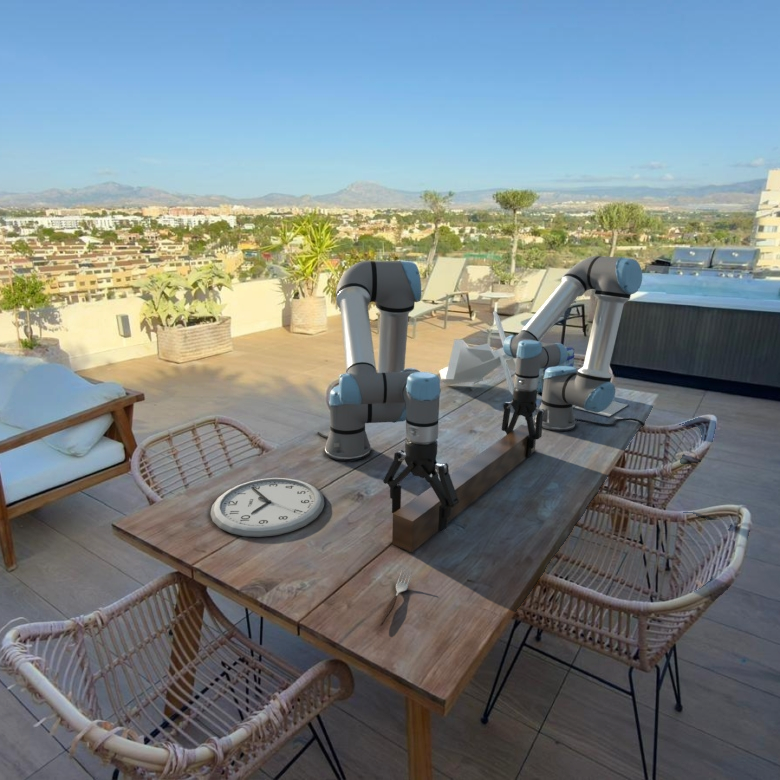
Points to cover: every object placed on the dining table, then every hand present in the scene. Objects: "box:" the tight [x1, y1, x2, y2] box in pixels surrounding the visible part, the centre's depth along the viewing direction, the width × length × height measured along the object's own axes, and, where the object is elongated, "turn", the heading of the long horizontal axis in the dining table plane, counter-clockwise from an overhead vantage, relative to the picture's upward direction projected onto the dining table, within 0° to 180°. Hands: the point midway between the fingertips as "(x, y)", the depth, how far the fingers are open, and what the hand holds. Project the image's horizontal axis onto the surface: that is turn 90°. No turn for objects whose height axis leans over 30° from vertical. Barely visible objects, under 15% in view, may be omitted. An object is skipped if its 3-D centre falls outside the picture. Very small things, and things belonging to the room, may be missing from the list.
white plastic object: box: [438, 310, 516, 396], centre depth 245 cm, size 37×45×31 cm
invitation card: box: [573, 400, 629, 418], centre depth 226 cm, size 21×1×15 cm
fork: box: [379, 570, 413, 627], centre depth 106 cm, size 3×16×2 cm, turn 160°
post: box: [391, 424, 537, 553], centre depth 152 cm, size 75×6×8 cm, turn 143°
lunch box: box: [536, 346, 575, 394], centre depth 245 cm, size 26×11×21 cm, turn 134°
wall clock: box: [210, 477, 325, 538], centre depth 142 cm, size 30×2×30 cm
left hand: (418, 519), depth 128 cm, fingers open, 13 cm apart
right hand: (519, 453), depth 176 cm, fingers closed on post, 6 cm apart
